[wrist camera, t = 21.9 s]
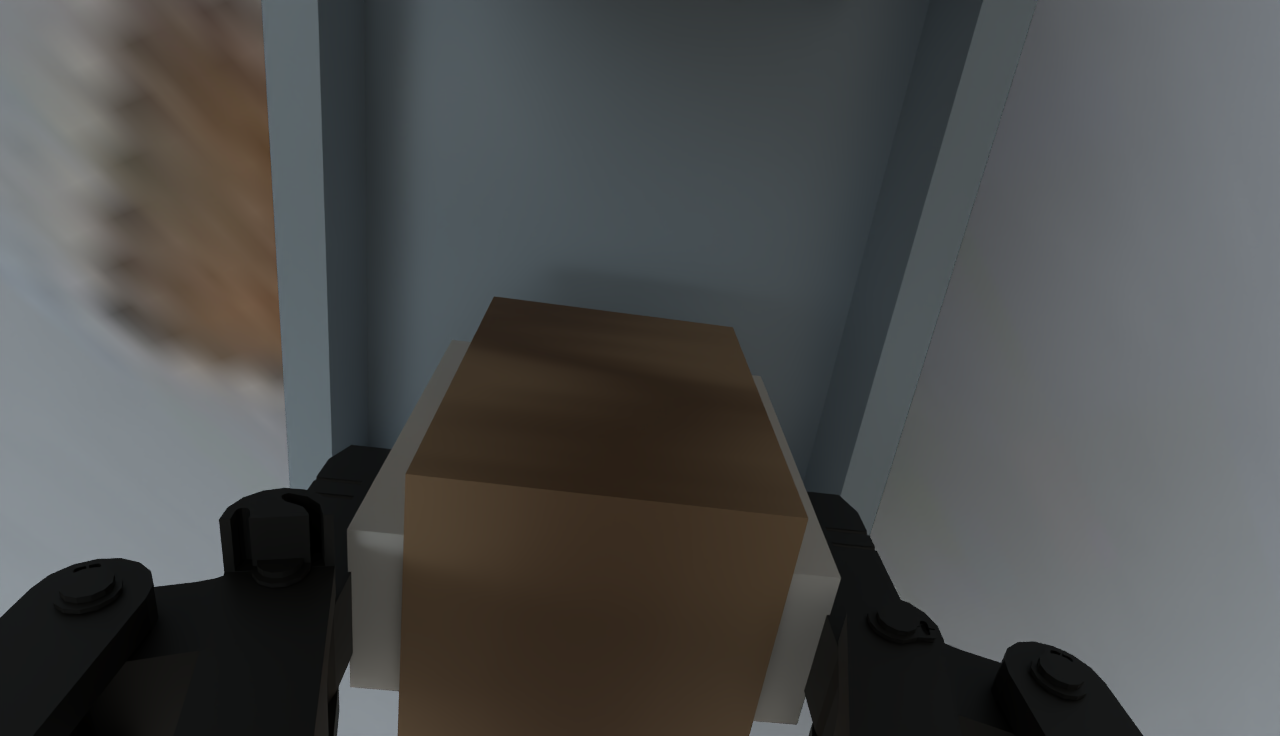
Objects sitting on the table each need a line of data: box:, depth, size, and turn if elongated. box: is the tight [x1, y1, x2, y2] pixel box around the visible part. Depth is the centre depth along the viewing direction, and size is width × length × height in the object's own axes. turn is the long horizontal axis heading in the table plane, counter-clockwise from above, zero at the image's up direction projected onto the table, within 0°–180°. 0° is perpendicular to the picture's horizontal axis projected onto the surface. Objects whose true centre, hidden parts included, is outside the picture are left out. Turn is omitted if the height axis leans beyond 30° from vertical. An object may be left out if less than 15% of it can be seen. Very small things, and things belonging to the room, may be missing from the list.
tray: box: [261, 0, 1038, 536], centre depth 16 cm, size 14×24×4 cm, turn 172°
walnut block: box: [398, 296, 809, 736], centre depth 14 cm, size 5×5×7 cm
